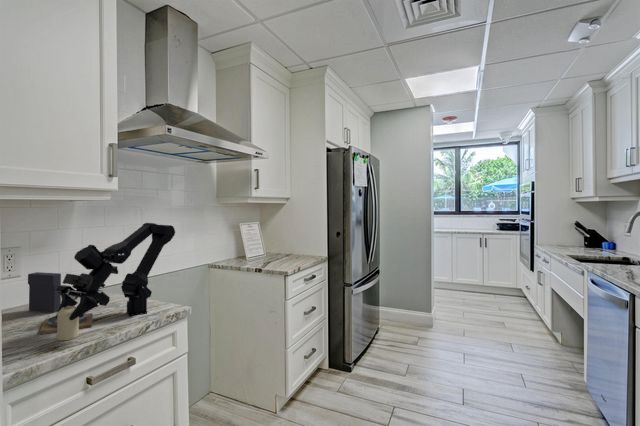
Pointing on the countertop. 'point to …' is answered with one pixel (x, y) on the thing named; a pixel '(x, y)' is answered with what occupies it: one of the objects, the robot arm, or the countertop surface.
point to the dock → (54, 329)
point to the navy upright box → (44, 292)
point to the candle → (67, 324)
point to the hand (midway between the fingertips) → (63, 318)
